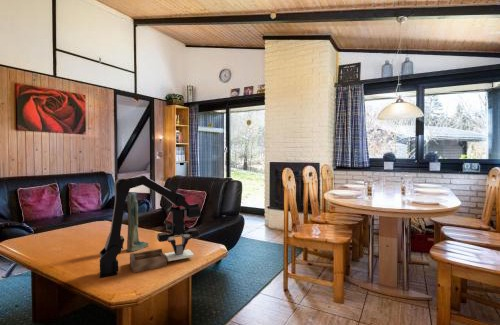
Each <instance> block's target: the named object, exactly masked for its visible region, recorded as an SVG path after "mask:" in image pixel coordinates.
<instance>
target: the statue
mask: <svg viewBox="0 0 500 325" xmlns="http://www.w3.org/2000/svg"><path fill="white" fill-rule="evenodd" d="M137 195H138V194H137V192H129V193H128V196H127V198H126V200H127V238H126V239H127V240H126V242H127V243H126V249H125V250H126V252H130V253H134V252H137V251H138V250H143V249H145V248H147V247H149V242H147V241H146V242H145V241H141V240H140V239H139V212H138V211H139V203H138V202H139V201H138V200H137Z"/></svg>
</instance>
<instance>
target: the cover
mask: <svg viewBox="0 0 500 325" xmlns="http://www.w3.org/2000/svg"><path fill="white" fill-rule="evenodd" d="M163 254H164V255H166V259H167V262H171V261H177V260H182V259H188V258H194V257H195V254H194V253H193V252H192V251H191V250H190V249H184V252H183V246H182V243H180V244H176V254H175V252H174V251H172V252H166V253H165V252H163Z"/></svg>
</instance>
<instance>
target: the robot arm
mask: <svg viewBox="0 0 500 325" xmlns="http://www.w3.org/2000/svg"><path fill="white" fill-rule="evenodd" d="M113 184H114V186H113V187H114V189H113V190H114V205H113V211H112V212H113V213H112V217H111V218H112V219H111V225H110V232H109V234H108V236H107V238H106V241H105V245H104V247H103V248H102V249H101V250H100V252H99V257H100V259H99V278H104V277H110V276H116V275H118V272H119V260H118V259H117V256H119V255H120V254H121V252H122V250H123V249H124V242H125V238H124V236H123V235H121V234H122V233H121V231H122V224H123V217H124V210H125V205H126V200H127V196H128V195H129V194H130V191H131V189H133V188H137V187H140V186H144V187H146V188H148V189H149V190H151V191H153V192H155V193H157V194H159V195H160V196H162V197H164V198H165V199H166V200H167V201H168V202H169V203H170V204H171V205H170V206H169V207H168V208H167V210H166V211H167V212H169V213H170V212H171V223H170V222H168V223H166V224H165V228H166V232H165V231H163V232H158V233H157V235H156V240H157V241H158V242H159V243H162V242H168V243H170V244H171V246H172V249H173V252H175V254H176V245H177V243H176V239H175V238H179V237H181V244H182V246H183V252H184V250H186V249H185V248H186V246H187V244H188V242H189V240H191V237H192V238H195V237H199V236H200V230H198V229H197V228H195V227H194V228H189V229H188V231H185V230H186V229H185V227H186V226H185V225H186V222H185V217H186V218H187V219H189V220H190V219H195V218H200V217H201V214H202V212H201V208H200V203H197V202H195V203H191V204H189V203H188V202H187V201H186V196H185V195H184V194H182V193H179V192H177V191H173V190H170V189H169V188H167V187H164V186H162V185H161V184H160V183H158V182H156V181H154V180H152V179H151V178H150V177H149V178H148V176H146V175H139V176H133V177H130V178H124V177H123V178H122V177H120V178H117V179H116V180H115V181H114V183H113ZM172 205H175V206H172ZM181 207H182V208H181ZM168 232H170V233H168ZM190 236H191V237H190Z"/></svg>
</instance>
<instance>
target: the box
mask: <svg viewBox="0 0 500 325" xmlns="http://www.w3.org/2000/svg"><path fill="white" fill-rule="evenodd" d="M167 262H168V261H167V259H166V255H164V252H163V250H162V248H158V249H157V248H156V249H151V250H145V251H138V252H137V251H136V252H130V253H129V264H130V268H132V269H131V272H132V273H133V272H134V273H138V272H143V271H144V272H145V271H149V269H150V270H154V269H159V268H164V267H167Z"/></svg>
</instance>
